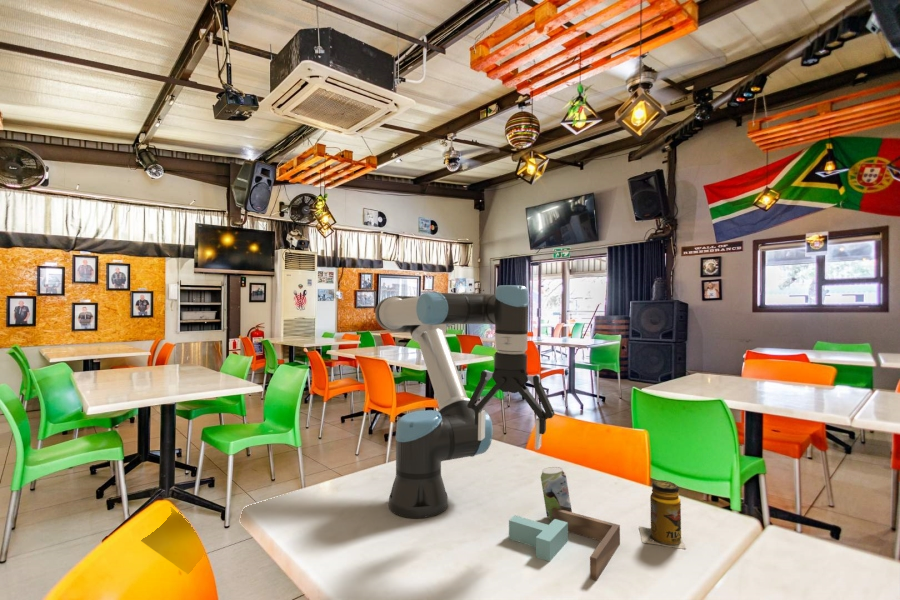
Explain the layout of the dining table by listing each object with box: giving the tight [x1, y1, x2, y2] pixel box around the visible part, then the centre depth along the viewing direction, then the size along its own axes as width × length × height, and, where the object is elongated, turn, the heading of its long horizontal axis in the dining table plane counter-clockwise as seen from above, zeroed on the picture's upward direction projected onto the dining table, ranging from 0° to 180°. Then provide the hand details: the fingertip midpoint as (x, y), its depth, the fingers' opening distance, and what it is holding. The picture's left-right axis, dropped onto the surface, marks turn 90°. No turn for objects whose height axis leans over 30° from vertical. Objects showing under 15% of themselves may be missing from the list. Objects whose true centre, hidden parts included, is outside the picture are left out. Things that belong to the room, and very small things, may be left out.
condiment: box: [638, 479, 686, 550], centre depth 99 cm, size 7×8×12 cm
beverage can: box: [540, 466, 573, 522], centre depth 108 cm, size 6×7×12 cm
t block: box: [508, 515, 569, 562], centre depth 96 cm, size 11×10×4 cm
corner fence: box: [551, 508, 621, 582], centre depth 94 cm, size 15×16×4 cm
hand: (509, 443), depth 104 cm, fingers open, 13 cm apart
